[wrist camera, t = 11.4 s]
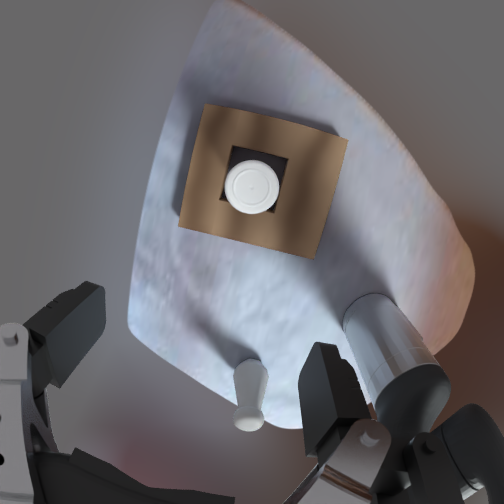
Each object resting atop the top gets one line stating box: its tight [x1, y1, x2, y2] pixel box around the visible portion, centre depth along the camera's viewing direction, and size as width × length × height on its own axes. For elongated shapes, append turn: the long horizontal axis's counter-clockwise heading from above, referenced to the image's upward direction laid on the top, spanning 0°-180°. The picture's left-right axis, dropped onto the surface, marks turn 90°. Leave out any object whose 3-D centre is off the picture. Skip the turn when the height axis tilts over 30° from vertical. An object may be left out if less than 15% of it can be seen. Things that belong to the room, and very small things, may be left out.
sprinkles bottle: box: [225, 160, 279, 214], centre depth 28 cm, size 5×5×14 cm
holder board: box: [178, 104, 348, 260], centre depth 34 cm, size 18×16×2 cm
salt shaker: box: [233, 358, 269, 431], centre depth 38 cm, size 6×6×13 cm
